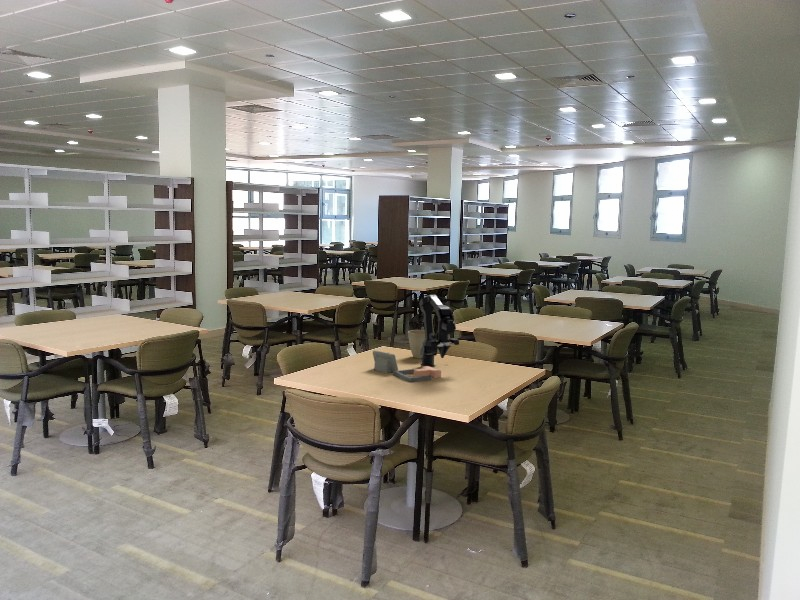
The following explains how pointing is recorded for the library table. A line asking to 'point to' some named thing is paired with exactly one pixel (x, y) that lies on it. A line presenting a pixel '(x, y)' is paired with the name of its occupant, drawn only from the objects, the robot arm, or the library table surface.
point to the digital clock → (384, 362)
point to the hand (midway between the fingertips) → (442, 357)
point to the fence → (410, 379)
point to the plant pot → (416, 341)
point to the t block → (427, 372)
